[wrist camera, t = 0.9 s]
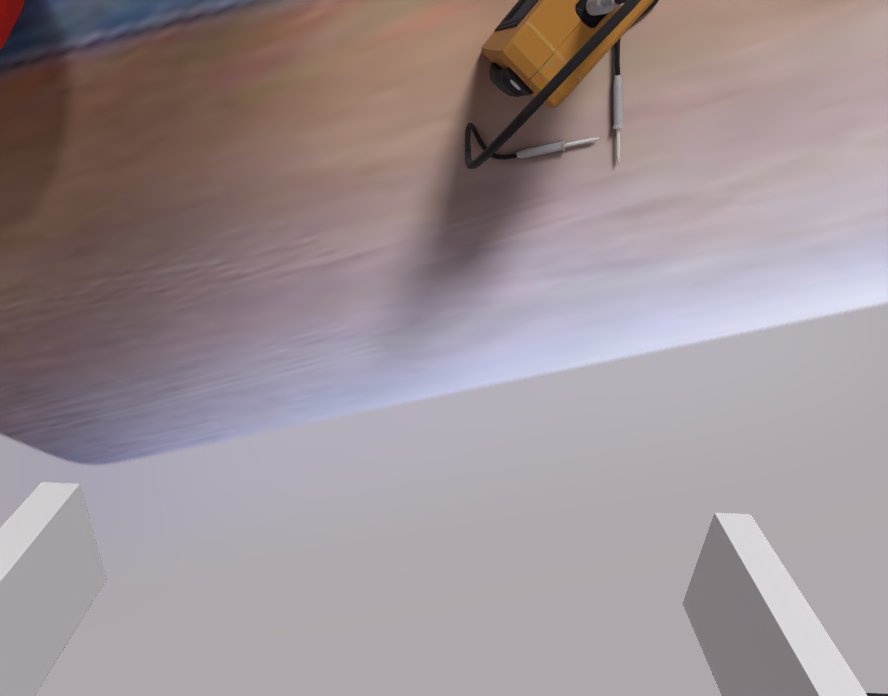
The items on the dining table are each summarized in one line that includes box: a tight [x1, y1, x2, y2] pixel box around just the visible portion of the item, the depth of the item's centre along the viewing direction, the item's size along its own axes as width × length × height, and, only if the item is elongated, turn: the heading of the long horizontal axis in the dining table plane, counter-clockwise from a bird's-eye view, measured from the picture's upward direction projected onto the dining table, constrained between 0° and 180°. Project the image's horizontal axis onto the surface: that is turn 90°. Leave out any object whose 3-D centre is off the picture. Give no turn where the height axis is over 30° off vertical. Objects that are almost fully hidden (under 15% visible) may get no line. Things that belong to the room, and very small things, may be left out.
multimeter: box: [465, 0, 658, 169], centre depth 23 cm, size 15×10×20 cm
